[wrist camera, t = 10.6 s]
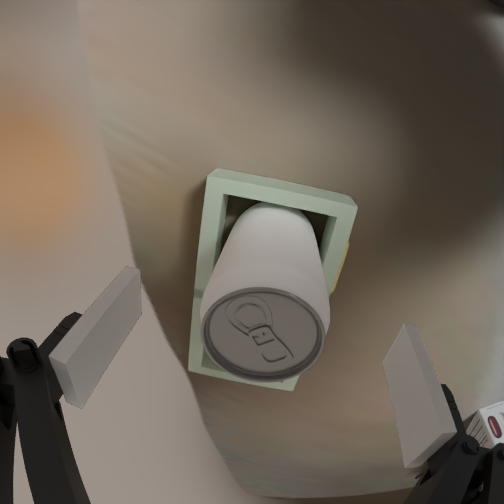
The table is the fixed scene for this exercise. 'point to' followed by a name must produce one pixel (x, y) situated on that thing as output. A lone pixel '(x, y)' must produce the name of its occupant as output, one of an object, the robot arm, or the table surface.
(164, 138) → the table surface
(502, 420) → the supplement box
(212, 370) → the socket board
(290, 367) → the can
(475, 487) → the robot arm
